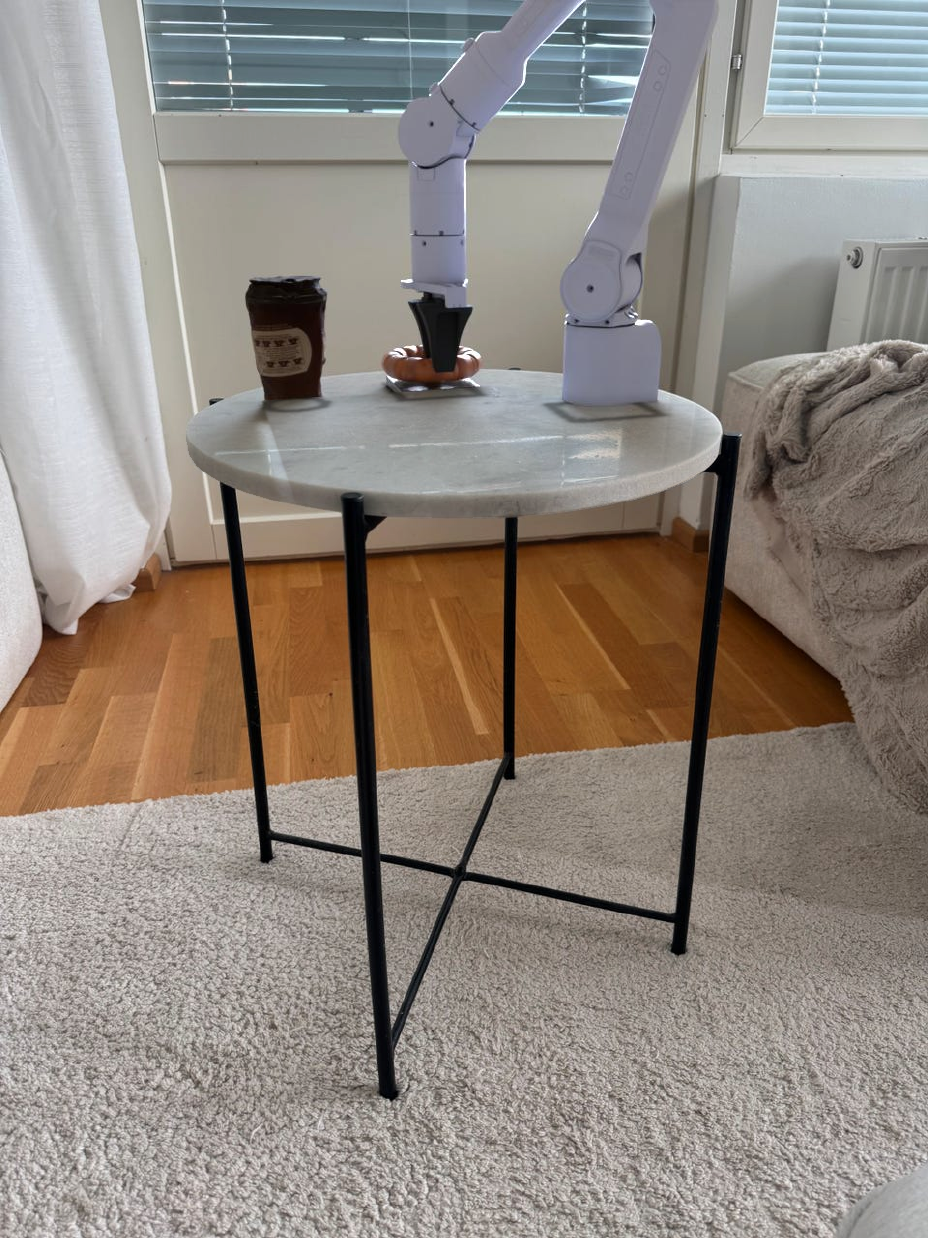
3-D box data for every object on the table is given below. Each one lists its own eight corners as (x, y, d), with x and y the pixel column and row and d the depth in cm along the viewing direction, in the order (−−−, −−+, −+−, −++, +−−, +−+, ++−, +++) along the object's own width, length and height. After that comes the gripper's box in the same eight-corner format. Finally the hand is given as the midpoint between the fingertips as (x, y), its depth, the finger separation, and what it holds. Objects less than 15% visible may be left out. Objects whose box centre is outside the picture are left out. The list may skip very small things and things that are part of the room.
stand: (459, 379, 110) (459, 323, 107) (480, 395, 102) (480, 335, 100) (386, 384, 108) (383, 327, 105) (402, 400, 100) (399, 339, 98)
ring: (467, 363, 111) (467, 340, 109) (492, 381, 101) (492, 357, 100) (375, 368, 108) (374, 345, 107) (392, 387, 98) (391, 362, 97)
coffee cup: (317, 415, 94) (307, 281, 89) (242, 412, 96) (227, 280, 90) (344, 397, 102) (336, 273, 96) (274, 394, 104) (262, 272, 98)
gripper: (386, 231, 100) (391, 359, 106) (415, 239, 87) (419, 384, 93) (449, 230, 101) (450, 355, 107) (486, 237, 89) (486, 379, 95)
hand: (440, 368), depth 100 cm, fingers closed on ring, 3 cm apart
